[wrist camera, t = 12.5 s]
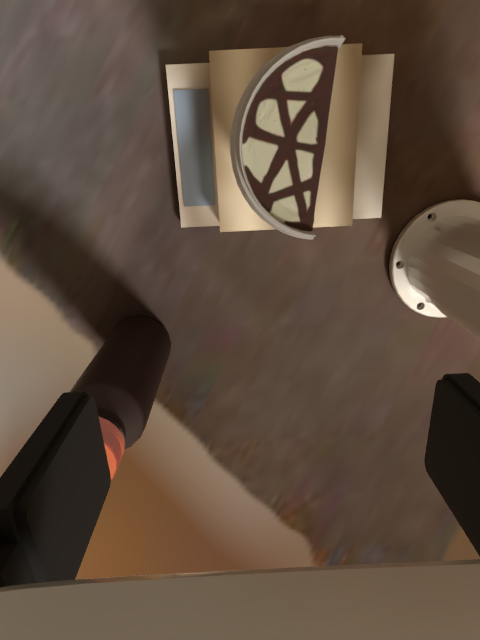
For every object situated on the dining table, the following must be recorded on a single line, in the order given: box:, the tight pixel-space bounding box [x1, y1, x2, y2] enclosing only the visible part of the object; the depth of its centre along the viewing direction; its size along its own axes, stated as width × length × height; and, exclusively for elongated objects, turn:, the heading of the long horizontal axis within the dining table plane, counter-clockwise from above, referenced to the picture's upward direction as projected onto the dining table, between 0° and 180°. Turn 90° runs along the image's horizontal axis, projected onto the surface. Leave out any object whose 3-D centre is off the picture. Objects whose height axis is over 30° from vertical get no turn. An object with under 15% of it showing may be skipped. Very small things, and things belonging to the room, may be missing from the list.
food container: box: [230, 36, 345, 239], centre depth 29 cm, size 12×6×10 cm, turn 175°
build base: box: [166, 43, 394, 232], centre depth 37 cm, size 20×14×6 cm
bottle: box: [70, 316, 171, 479], centre depth 37 cm, size 7×7×20 cm
